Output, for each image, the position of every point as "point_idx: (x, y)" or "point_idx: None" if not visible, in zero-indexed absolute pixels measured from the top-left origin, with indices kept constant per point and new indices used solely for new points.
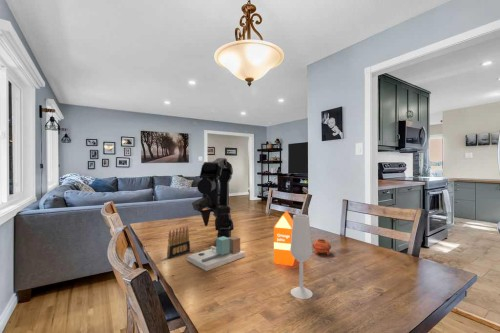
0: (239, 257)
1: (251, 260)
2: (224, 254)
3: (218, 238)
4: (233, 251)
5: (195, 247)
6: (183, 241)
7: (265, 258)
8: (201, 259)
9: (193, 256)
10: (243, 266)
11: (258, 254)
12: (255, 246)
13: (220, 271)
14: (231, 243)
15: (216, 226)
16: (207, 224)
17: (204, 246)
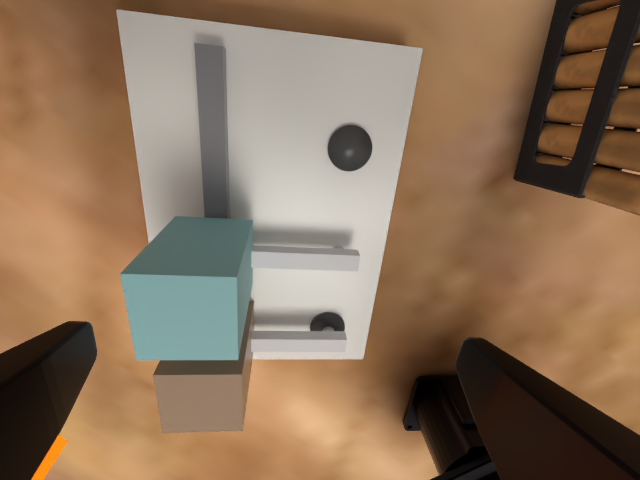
0: None
1: (100, 328)
2: None
3: (211, 290)
4: None
5: (529, 247)
6: (614, 136)
7: None
8: (266, 78)
9: (369, 76)
10: (47, 246)
11: (150, 397)
12: (252, 446)
13: (64, 91)
14: None
15: (26, 363)
16: (462, 382)
17: (489, 291)
